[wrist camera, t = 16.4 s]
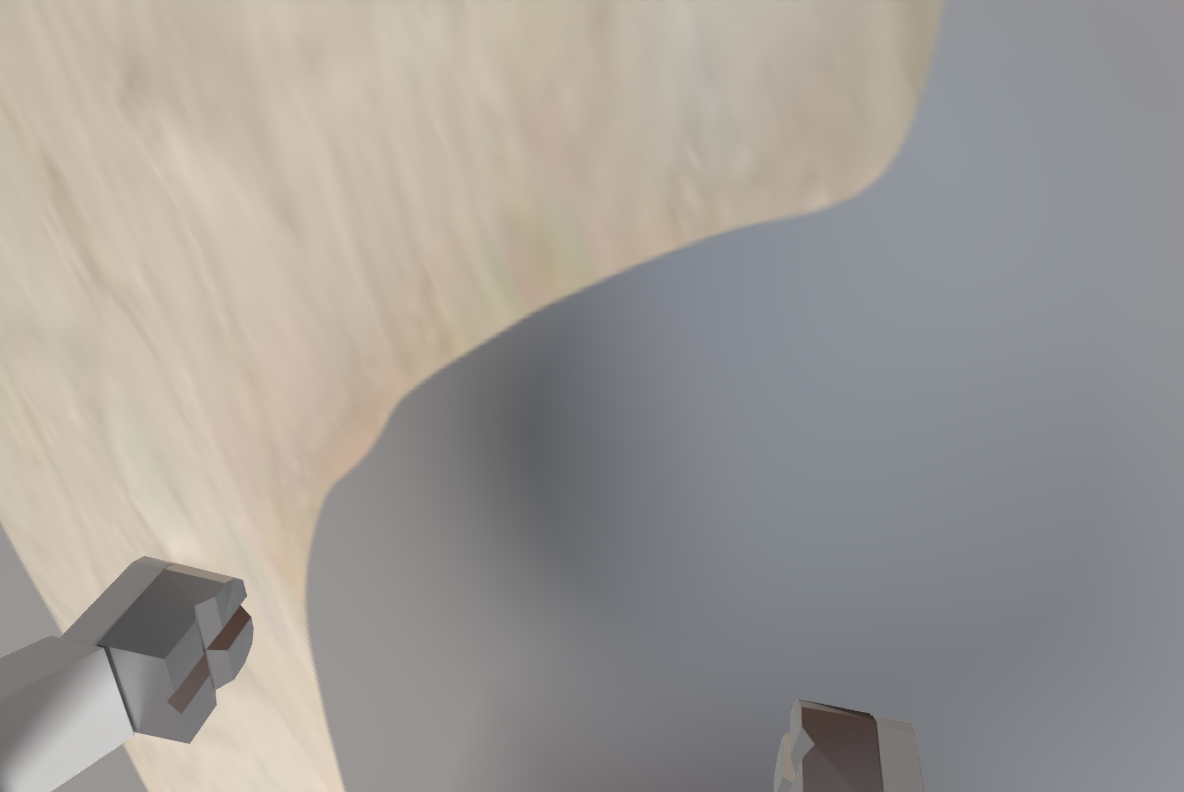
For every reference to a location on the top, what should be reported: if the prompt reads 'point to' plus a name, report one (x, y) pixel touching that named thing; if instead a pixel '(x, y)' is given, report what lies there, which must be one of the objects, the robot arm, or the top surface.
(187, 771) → the top surface
